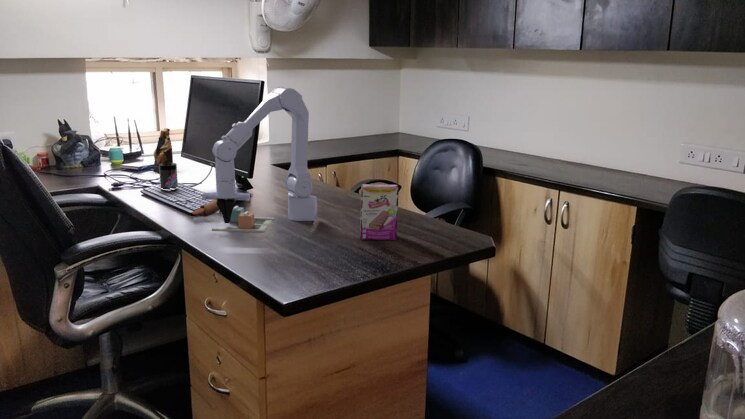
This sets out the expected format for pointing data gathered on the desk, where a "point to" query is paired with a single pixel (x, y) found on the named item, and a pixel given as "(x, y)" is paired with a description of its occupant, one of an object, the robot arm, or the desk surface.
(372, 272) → the desk surface
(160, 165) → the supplement container
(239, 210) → the teal handled block
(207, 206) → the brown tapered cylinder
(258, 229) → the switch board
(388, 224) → the candy bar box
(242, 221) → the orange block with handle
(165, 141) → the statue
